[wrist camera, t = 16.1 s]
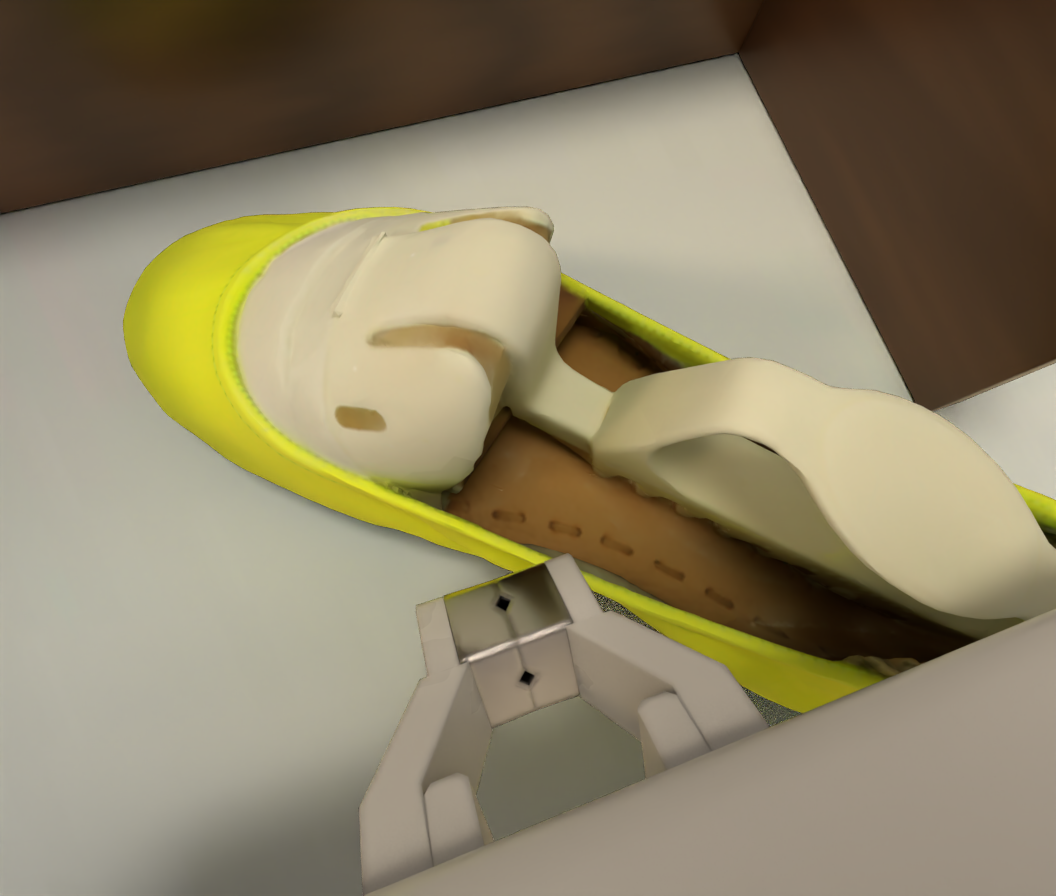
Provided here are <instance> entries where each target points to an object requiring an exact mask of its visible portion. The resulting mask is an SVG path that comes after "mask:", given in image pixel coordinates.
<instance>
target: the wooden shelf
mask: <svg viewBox="0 0 1056 896" xmlns="http://www.w3.org/2000/svg"><path fill="white" fill-rule="evenodd" d="M737 52H739V55H740V57H741V59H742V61H743V63H744V65H745V67H746V69H747V71H748V73H749V75H750V77H751V79H752V81H753V83H754V85H755V87H756V89H757V91H758V93H759V95H760V96H761V98H762V100H763V102H764V104H765V106H766V108H767V110H768V112H769V114H770V116H771V118H772V120H773V122H774V124H775V126H776V128H777V130H778V132H779V134H780V136H781V138H782V140H783V142H784V144H785V146H786V148H787V150H788V152H789V154H790V156H791V158H792V160H793V161H794V163H795V165H796V167H797V169H798V171H799V173H800V175H801V177H802V179H803V181H804V183H805V185H806V187H807V189H808V191H809V193H810V195H811V197H812V199H813V201H814V203H815V205H816V207H817V209H818V211H819V213H820V215H821V217H822V219H823V221H824V223H825V225H826V226H827V228H828V230H829V232H830V234H831V236H832V238H833V240H834V242H835V244H836V246H837V248H838V250H839V252H840V254H841V256H842V258H843V260H844V262H845V264H846V266H847V268H848V270H849V272H850V274H851V276H852V278H853V280H854V282H855V284H856V286H857V288H858V290H859V292H860V293H861V295H862V297H863V299H864V301H865V303H866V305H867V307H868V309H869V311H870V313H871V315H872V317H873V319H874V321H875V323H876V325H877V327H878V329H879V331H880V333H881V335H882V337H883V339H884V341H885V343H886V345H887V347H888V349H889V351H890V353H891V355H892V357H893V358H894V360H895V362H896V364H897V366H898V368H899V370H900V372H901V374H902V376H903V378H904V380H905V382H906V384H907V386H908V388H909V390H910V392H911V394H912V396H913V398H914V400H915V402H916V404H918V405H921V406H923V407H925V408H926V409H928V410H930V411H932V412H933V411H936V410H938V409H941V408H944V407H947V406H950V405H953V404H956V403H959V402H961V401H964V400H966V399H969V398H971V397H974V396H976V395H979V394H981V393H983V392H986V391H988V390H991V389H993V388H996V387H998V386H1001V385H1003V384H1005V383H1008V382H1010V381H1013V380H1015V379H1018V378H1020V377H1023V376H1025V375H1027V374H1030V373H1032V372H1035V371H1037V370H1040V369H1042V368H1044V367H1047V366H1049V365H1052V364H1054V363H1056V0H0V213H5V212H10V211H14V210H19V209H23V208H28V207H32V206H37V205H42V204H46V203H51V202H55V201H60V200H64V199H69V198H74V197H78V196H83V195H87V194H92V193H96V192H101V191H106V190H110V189H115V188H119V187H124V186H128V185H133V184H138V183H142V182H147V181H151V180H156V179H161V178H165V177H170V176H174V175H179V174H183V173H188V172H193V171H197V170H202V169H206V168H211V167H215V166H220V165H225V164H229V163H234V162H238V161H243V160H247V159H252V158H257V157H261V156H266V155H270V154H275V153H279V152H284V151H289V150H293V149H298V148H302V147H307V146H312V145H316V144H321V143H325V142H330V141H334V140H339V139H344V138H348V137H353V136H357V135H362V134H366V133H371V132H376V131H380V130H385V129H389V128H394V127H398V126H403V125H408V124H412V123H417V122H421V121H426V120H430V119H435V118H440V117H444V116H449V115H453V114H458V113H462V112H467V111H472V110H476V109H481V108H485V107H490V106H495V105H499V104H504V103H508V102H513V101H517V100H522V99H527V98H531V97H536V96H540V95H545V94H549V93H554V92H559V91H563V90H568V89H572V88H577V87H581V86H586V85H591V84H595V83H600V82H604V81H609V80H613V79H618V78H623V77H627V76H632V75H636V74H641V73H646V72H650V71H655V70H659V69H664V68H668V67H673V66H678V65H682V64H687V63H691V62H696V61H700V60H705V59H710V58H714V57H719V56H723V55H728V54H732V53H737Z"/></svg>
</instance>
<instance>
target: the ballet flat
mask: <svg viewBox="0 0 1056 896" xmlns="http://www.w3.org/2000/svg"><path fill="white" fill-rule="evenodd" d="M553 232H554V225H553V223H552V221H551V219H550V217H549V215H547V214H546V213H545V212H543V211H542V210H541V209H537V208H531V207H496V208H482V209H468V210H456V211H445V212H435V213H432V212H427V211H422V210H416V209H411V208H399V207H373V208H357V209H351V210H345V211H340V212H335V213H334V212H313V213H300V214H283V215H254V216H244V217H240V218H237V219H234V220H227V221H223V222H220V223H217V224H214V225H211V226H208V227H205V228H203V229H200V230H198V231H195V232H193V233H190V234H188V235H186V236H184V237H182V238H181V239H179V240H177V241H176V242H174V243H172V244H171V245H170V246H168V247H167V248H166V249H165V250H164V251H162V252H161V253H160V254H159V255H158V256H157V257H156V258H155V259H154V260H153V261H152V262H151V263H150V264H149V265H148V266H147V267H146V268H145V270H144V271H143V273H142V274H141V276H140V278H139V279H138V281H137V283H136V284H135V286H134V288H133V291H132V293H131V295H130V298H129V300H128V303H127V306H126V310H125V314H124V319H123V331H124V340H125V345H126V349H127V353H128V357H129V360H130V363H131V366H132V367H133V369H134V371H135V372H136V374H137V375H138V377H139V379H140V380H141V382H142V383H143V384H144V386H145V387H146V389H147V390H148V391H149V393H150V394H151V395H152V397H153V398H154V399H155V400H156V402H157V403H158V404H159V406H160V407H161V408H162V410H163V411H164V412H165V413H166V414H167V415H168V416H169V417H171V418H172V419H173V420H175V421H176V422H177V423H179V424H180V425H181V426H183V427H184V428H186V429H187V430H189V431H190V432H192V433H193V434H194V435H196V436H197V437H199V438H200V439H201V440H203V441H204V442H205V443H207V444H208V445H209V446H211V447H212V448H213V449H214V450H216V451H217V452H218V453H220V454H221V455H222V456H223V457H225V458H226V459H228V460H230V461H231V462H233V463H235V464H236V465H238V466H240V467H241V468H243V469H245V470H247V471H249V472H251V473H253V474H255V475H258V476H260V477H262V478H264V479H266V480H268V481H270V482H272V483H274V484H277V485H279V486H281V487H283V488H285V489H287V490H290V491H292V492H294V493H296V494H298V495H300V496H302V497H305V498H307V499H309V500H311V501H314V502H316V503H319V504H321V505H324V506H326V507H328V508H330V509H333V510H335V511H338V512H341V513H344V514H346V515H349V516H351V517H354V518H356V519H359V520H362V521H365V522H368V523H371V524H375V525H378V526H383V527H388V528H393V529H397V530H400V531H403V532H406V533H409V534H412V535H415V536H419V537H421V538H424V539H426V540H428V541H430V542H433V543H435V544H437V545H440V546H444V547H447V548H451V549H454V550H457V551H461V552H464V553H468V554H472V555H476V556H479V557H482V558H484V559H486V560H487V561H489V562H491V563H492V564H495V565H497V566H499V567H502V568H504V569H507V570H510V571H513V572H517V571H519V570H522V569H525V568H528V567H531V566H534V565H536V564H539V563H544V561H547V560H550V559H552V558H555V557H558V556H561V555H564V554H566V553H569V554H570V555H572V557H573V559H574V560H575V562H576V564H577V566H578V567H579V569H580V571H581V573H582V575H583V576H584V578H585V580H586V582H587V584H588V585H589V587H590V589H591V590H592V591H594V592H596V593H599V594H601V595H603V596H605V597H607V598H610V599H612V600H614V601H616V602H618V603H620V604H621V605H623V606H624V607H625V608H627V609H628V610H629V611H631V612H632V613H633V614H635V615H636V616H637V617H639V618H640V619H642V620H643V621H644V622H646V623H647V624H649V625H650V626H652V627H653V628H655V629H656V630H657V631H659V632H660V633H662V634H663V635H665V636H666V637H668V638H670V639H672V640H674V641H676V642H679V643H681V644H683V645H685V646H687V647H689V648H691V649H693V650H695V651H697V652H699V653H701V654H703V655H705V656H707V657H709V658H712V659H714V660H716V661H718V662H720V663H722V664H724V665H726V666H727V668H728V669H729V670H730V672H731V673H732V675H733V676H734V677H735V679H736V680H737V682H738V683H739V684H740V685H741V686H743V687H745V688H747V689H749V690H751V691H752V692H754V693H756V694H758V695H760V696H762V697H764V698H766V699H768V700H770V701H773V702H775V703H777V704H780V705H782V706H784V707H787V708H789V709H792V710H795V711H798V712H801V713H805V712H807V711H810V710H812V709H814V708H817V707H819V706H822V705H824V704H827V703H829V702H831V701H834V700H836V699H839V698H841V697H843V696H846V695H848V694H851V693H853V692H856V691H858V690H860V689H863V688H865V687H868V686H870V685H872V684H875V683H877V682H880V681H882V680H884V679H887V678H889V677H892V676H894V675H897V674H899V673H901V672H904V671H906V670H909V669H911V668H913V667H916V666H918V665H921V664H923V663H925V662H928V661H930V660H933V659H935V658H938V657H940V656H942V655H945V654H947V653H950V652H952V651H954V650H957V649H959V648H962V647H964V646H966V645H969V644H971V643H974V642H976V641H979V640H981V639H983V638H986V637H988V636H991V635H993V634H995V633H998V632H1000V631H1003V630H1005V629H1007V628H1010V627H1012V626H1015V625H1017V624H1020V623H1022V622H1024V621H1027V620H1029V619H1032V618H1034V617H1036V616H1039V615H1041V614H1044V613H1046V612H1048V611H1051V610H1053V609H1056V500H1054V499H1052V498H1049V497H1047V496H1045V495H1042V494H1040V493H1037V492H1034V491H1032V490H1029V489H1026V488H1024V487H1021V486H1019V485H1016V484H1014V483H1012V482H1011V480H1010V479H1009V478H1008V477H1007V475H1006V474H1005V473H1004V471H1003V470H1002V469H1001V468H1000V466H999V465H998V464H997V463H996V462H995V461H994V460H993V459H992V458H991V457H990V456H989V455H988V454H987V453H986V452H985V451H984V450H983V449H982V448H981V447H980V446H979V445H978V444H977V443H976V442H975V441H974V440H972V439H971V438H970V437H969V436H968V435H966V434H965V433H964V432H962V431H961V430H960V429H958V428H957V427H956V426H954V425H953V424H952V423H950V422H949V421H947V420H946V419H944V418H942V417H941V416H939V415H937V414H936V413H934V412H932V411H930V410H928V409H926V408H925V407H923V406H921V405H918V404H916V403H913V402H911V401H909V400H906V399H903V398H901V397H898V396H895V395H891V394H887V393H883V392H880V391H876V390H865V389H846V388H839V387H832V386H828V385H826V384H824V383H822V382H820V381H818V380H816V379H814V378H812V377H810V376H808V375H806V374H804V373H802V372H799V371H797V370H795V369H792V368H790V367H787V366H785V365H783V364H780V363H778V362H775V361H772V360H765V359H759V358H753V357H748V358H735V359H729V358H727V357H725V356H723V355H721V354H719V353H717V352H715V351H713V350H711V349H709V348H707V347H705V346H703V345H701V344H699V343H697V342H695V341H693V340H691V339H689V338H687V337H685V336H683V335H681V334H679V333H677V332H675V331H673V330H671V329H669V328H667V327H665V326H663V325H661V324H659V323H658V322H656V321H654V320H652V319H650V318H648V317H646V316H644V315H642V314H640V313H638V312H636V311H634V310H632V309H630V308H628V307H627V306H625V305H623V304H621V303H619V302H617V301H615V300H613V299H611V298H609V297H607V296H605V295H603V294H601V293H599V292H597V291H595V290H593V289H591V288H590V287H588V286H586V285H584V284H582V283H580V282H578V281H576V280H574V279H572V278H570V277H569V276H567V275H565V274H563V273H561V268H560V264H559V261H558V258H557V255H556V252H555V251H554V250H553V248H552V247H551V246H550V245H549V244H550V241H551V238H552V235H553Z"/></svg>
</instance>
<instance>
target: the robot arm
mask: <svg viewBox="0 0 1056 896" xmlns="http://www.w3.org/2000/svg"><path fill="white" fill-rule="evenodd" d="M416 616H417V621H418V627H419V632H420V638H421V643H422V648H423V654H424V659H425V665H426V670H427V675H428V676H427V677H425V678H422V679H420V680H419V682H418V684H417V686H416V688H415V690H414V692H413V695H412V697H411V699H410V701H409V703H408V705H407V707H406V709H405V711H404V713H403V716H402V718H401V720H400V722H399V724H398V726H397V728H396V730H395V732H394V735H393V737H392V739H391V741H390V743H389V745H388V747H387V749H386V751H385V754H384V756H383V758H382V760H381V762H380V764H379V766H378V768H377V770H376V773H375V775H374V777H373V779H372V781H371V783H370V785H369V787H368V789H367V792H366V794H365V796H364V798H363V800H362V802H361V804H360V806H359V826H360V847H361V868H362V889H363V896H1056V609H1053V610H1051V611H1048V612H1046V613H1044V614H1041V615H1039V616H1036V617H1034V618H1032V619H1029V620H1027V621H1024V622H1022V623H1020V624H1017V625H1015V626H1012V627H1010V628H1007V629H1005V630H1003V631H1000V632H998V633H995V634H993V635H991V636H988V637H986V638H983V639H981V640H979V641H976V642H974V643H971V644H969V645H966V646H964V647H962V648H959V649H957V650H954V651H952V652H950V653H947V654H945V655H942V656H940V657H938V658H935V659H933V660H930V661H928V662H925V663H923V664H921V665H918V666H916V667H913V668H911V669H909V670H906V671H904V672H901V673H899V674H897V675H894V676H892V677H889V678H887V679H884V680H882V681H880V682H877V683H875V684H872V685H870V686H868V687H865V688H863V689H860V690H858V691H856V692H853V693H851V694H848V695H846V696H843V697H841V698H839V699H836V700H834V701H831V702H829V703H827V704H824V705H822V706H819V707H817V708H814V709H812V710H810V711H807V712H805V713H802V714H800V715H798V716H795V717H793V718H790V719H788V720H786V721H783V722H781V723H778V724H776V725H774V726H771V727H770V726H769V725H768V723H767V722H766V720H765V719H764V718H763V716H762V715H761V713H760V712H759V711H758V709H757V708H756V707H755V705H754V704H753V702H752V701H751V700H750V698H749V697H748V695H747V694H746V693H745V691H744V690H743V689H742V687H741V686H740V684H739V683H738V682H737V680H736V679H735V677H734V676H733V675H732V673H731V672H730V670H729V669H728V668H727V666H726V665H724V664H722V663H720V662H718V661H716V660H714V659H712V658H709V657H707V656H705V655H703V654H701V653H699V652H697V651H695V650H693V649H691V648H689V647H687V646H685V645H683V644H681V643H679V642H676V641H674V640H672V639H670V638H668V637H666V636H664V635H662V634H660V633H658V632H656V631H654V630H652V629H650V628H648V627H646V626H643V625H641V624H639V623H637V622H635V621H633V620H631V619H629V618H627V617H625V616H623V615H621V614H619V613H617V612H615V611H613V610H609V611H606V612H603V610H602V608H601V607H600V605H599V603H598V601H597V600H596V598H595V596H594V594H593V592H592V591H591V589H590V587H589V585H588V584H587V582H586V580H585V578H584V576H583V575H582V573H581V571H580V569H579V567H578V566H577V564H576V562H575V560H574V559H573V557H572V555H570V554H569V553H566V554H564V555H561V556H558V557H555V558H552V559H550V560H547V561H544V563H539V564H536V565H534V566H531V567H528V568H525V569H522V570H519V571H517V572H514V573H511V574H508V575H505V576H502V577H500V578H497V579H494V580H491V581H488V582H485V583H482V584H479V585H476V586H473V587H469V588H466V589H463V590H460V591H457V592H454V593H451V594H447V595H444V597H440V598H437V599H434V600H431V601H427V602H424V603H421V604H418V605H416ZM579 695H580V697H581V698H582V699H583V700H585V701H586V702H587V703H589V704H590V705H591V706H593V707H594V708H596V709H597V710H598V711H600V712H601V713H602V714H604V715H605V716H606V717H608V718H609V719H610V720H612V721H613V722H615V723H616V724H617V725H619V726H620V727H621V728H623V729H624V730H625V731H627V732H628V733H629V734H631V735H632V736H633V737H635V738H636V739H638V740H639V741H640V742H641V744H642V752H643V761H644V769H645V778H646V779H644V780H641V781H639V782H636V783H634V784H632V785H629V786H627V787H624V788H622V789H620V790H617V791H615V792H612V793H610V794H608V795H605V796H603V797H600V798H598V799H596V800H593V801H591V802H588V803H586V804H583V805H581V806H579V807H576V808H574V809H571V810H569V811H567V812H564V813H562V814H559V815H557V816H554V817H552V818H550V819H547V820H545V821H542V822H540V823H538V824H535V825H533V826H530V827H528V828H526V829H523V830H521V831H518V832H516V833H513V834H511V835H509V836H506V837H504V838H501V839H499V840H497V841H494V839H493V836H492V834H491V831H490V829H489V826H488V824H487V821H486V819H485V817H484V814H483V812H482V809H481V807H480V804H479V802H478V799H477V797H476V794H477V790H478V787H479V783H480V779H481V775H482V771H483V768H484V764H485V760H486V756H487V752H488V749H489V745H490V741H491V737H492V733H493V731H492V729H493V728H495V727H498V726H500V725H503V724H505V723H507V722H510V721H512V720H515V719H517V718H519V717H522V716H524V715H527V714H529V713H531V712H534V711H536V710H539V709H542V708H545V707H548V706H551V705H553V704H556V703H559V702H562V701H565V700H568V699H570V698H573V697H576V696H579Z"/></svg>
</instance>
